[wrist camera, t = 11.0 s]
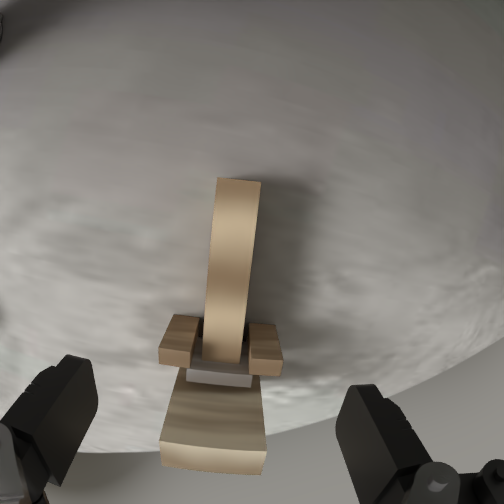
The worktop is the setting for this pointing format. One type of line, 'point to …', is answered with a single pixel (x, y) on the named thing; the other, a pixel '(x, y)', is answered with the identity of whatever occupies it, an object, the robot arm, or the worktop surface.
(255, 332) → the post block
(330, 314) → the worktop surface
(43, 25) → the worktop surface
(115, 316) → the worktop surface
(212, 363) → the light wooden bar
